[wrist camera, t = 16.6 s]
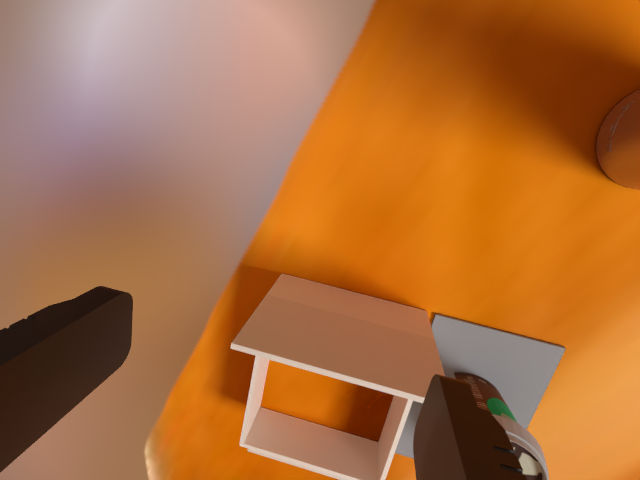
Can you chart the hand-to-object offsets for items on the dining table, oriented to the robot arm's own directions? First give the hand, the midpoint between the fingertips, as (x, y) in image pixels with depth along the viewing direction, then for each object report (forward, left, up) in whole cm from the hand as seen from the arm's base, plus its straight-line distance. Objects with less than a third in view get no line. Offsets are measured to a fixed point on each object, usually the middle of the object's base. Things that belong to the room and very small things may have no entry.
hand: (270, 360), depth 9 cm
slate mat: (-19, +21, -30) cm, 41 cm away
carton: (-3, +24, -30) cm, 39 cm away
